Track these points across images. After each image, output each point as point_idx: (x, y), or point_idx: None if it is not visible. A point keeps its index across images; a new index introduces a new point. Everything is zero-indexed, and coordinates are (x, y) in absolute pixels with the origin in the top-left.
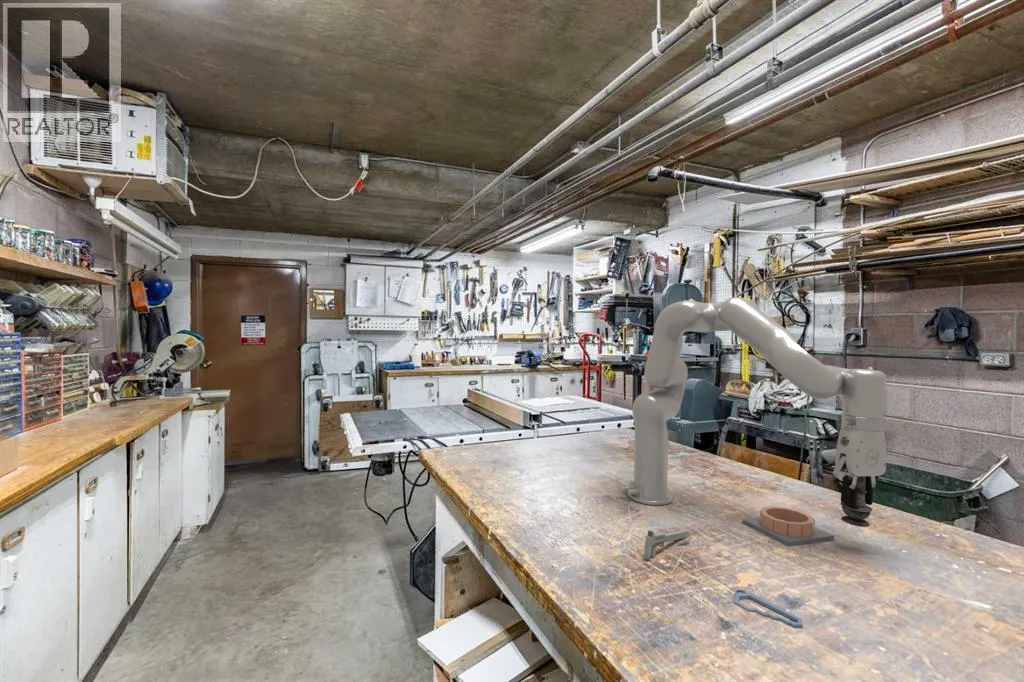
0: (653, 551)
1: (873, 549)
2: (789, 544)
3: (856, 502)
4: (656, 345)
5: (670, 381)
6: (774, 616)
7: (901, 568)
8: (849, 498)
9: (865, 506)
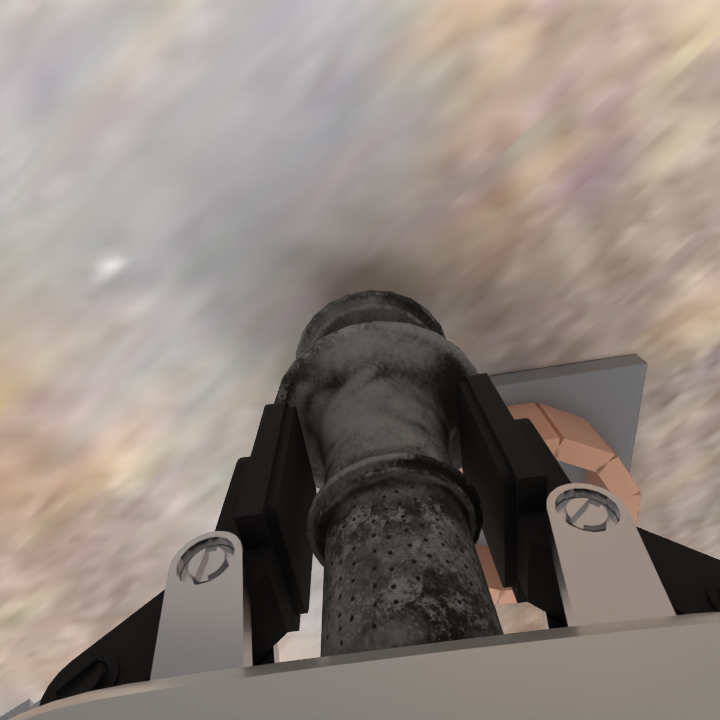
0: None
1: (259, 295)
2: (633, 358)
3: (431, 413)
4: None
5: None
6: None
7: (294, 79)
8: (531, 430)
9: (361, 376)
